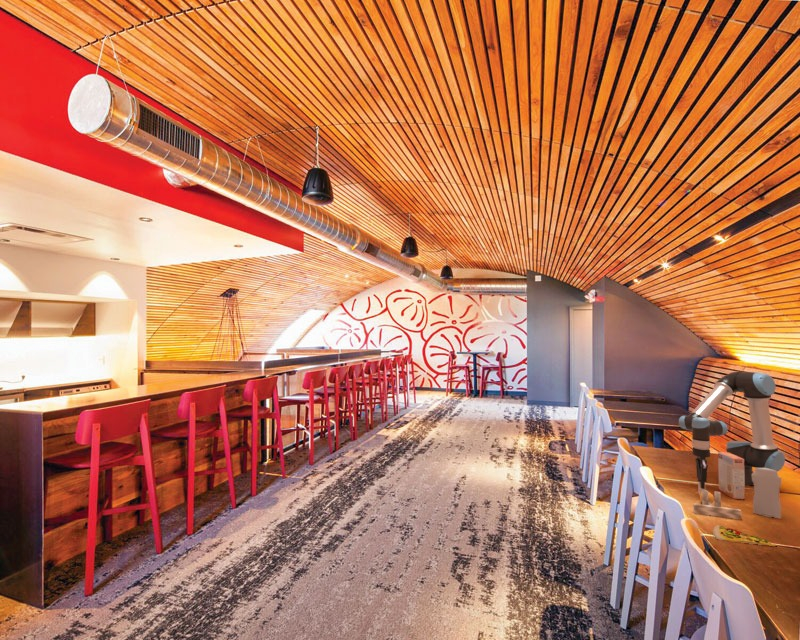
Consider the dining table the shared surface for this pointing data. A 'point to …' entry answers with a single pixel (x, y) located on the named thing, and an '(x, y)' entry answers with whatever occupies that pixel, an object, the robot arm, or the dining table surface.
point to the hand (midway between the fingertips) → (702, 494)
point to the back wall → (717, 511)
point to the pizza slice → (737, 536)
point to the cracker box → (731, 475)
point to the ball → (710, 497)
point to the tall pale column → (766, 492)
